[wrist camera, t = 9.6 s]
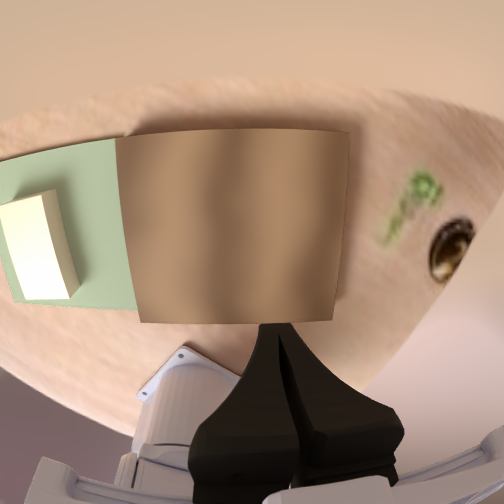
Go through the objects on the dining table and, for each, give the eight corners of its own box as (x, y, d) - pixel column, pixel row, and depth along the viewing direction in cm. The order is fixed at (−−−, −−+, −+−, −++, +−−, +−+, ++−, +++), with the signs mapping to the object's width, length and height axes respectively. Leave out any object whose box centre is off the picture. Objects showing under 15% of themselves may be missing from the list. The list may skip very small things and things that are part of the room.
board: (339, 132, 18) (349, 132, 17) (325, 305, 23) (332, 320, 22) (126, 137, 18) (114, 138, 16) (147, 308, 23) (140, 322, 21)
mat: (119, 137, 18) (117, 137, 18) (141, 307, 23) (140, 310, 23) (-14, 166, 18) (-17, 166, 17) (16, 300, 23) (14, 302, 22)
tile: (-3, 206, 17) (12, 199, 19) (26, 299, 20) (37, 288, 22) (40, 194, 17) (55, 188, 19) (69, 298, 20) (80, 286, 22)
